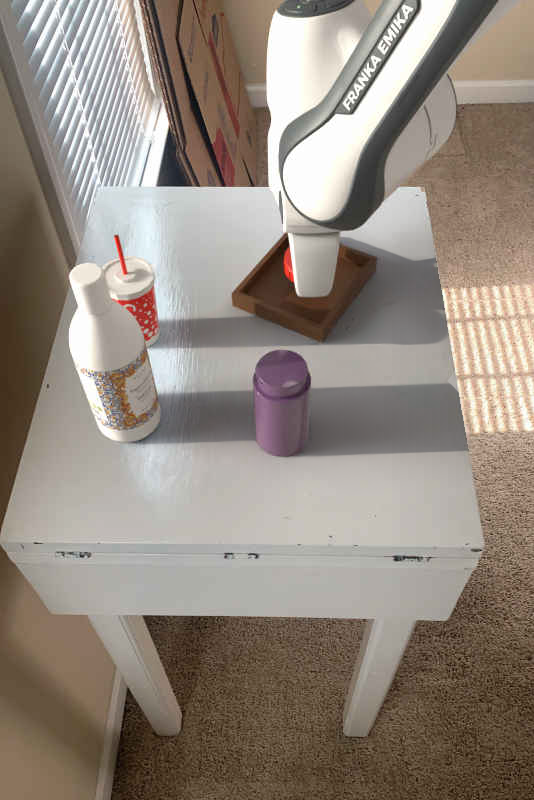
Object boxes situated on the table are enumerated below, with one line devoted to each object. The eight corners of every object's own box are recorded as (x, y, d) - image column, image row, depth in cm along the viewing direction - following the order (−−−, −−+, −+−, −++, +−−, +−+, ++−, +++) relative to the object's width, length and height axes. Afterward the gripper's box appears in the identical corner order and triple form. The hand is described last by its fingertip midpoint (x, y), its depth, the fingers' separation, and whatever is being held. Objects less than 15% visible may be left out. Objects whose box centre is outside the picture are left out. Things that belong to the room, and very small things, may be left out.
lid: (285, 288, 81) (285, 275, 80) (283, 252, 84) (283, 239, 83) (336, 286, 81) (337, 274, 80) (332, 250, 84) (333, 238, 83)
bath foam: (134, 455, 72) (89, 314, 55) (84, 426, 74) (27, 282, 57) (175, 411, 75) (144, 264, 58) (126, 384, 77) (82, 236, 60)
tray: (290, 238, 90) (290, 225, 89) (375, 270, 87) (377, 257, 85) (232, 305, 84) (231, 293, 82) (321, 342, 80) (322, 330, 78)
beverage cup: (103, 339, 81) (73, 241, 69) (138, 309, 84) (114, 209, 72) (142, 361, 79) (118, 264, 67) (176, 329, 82) (159, 231, 70)
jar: (289, 406, 75) (290, 337, 66) (318, 441, 72) (323, 374, 64) (245, 429, 73) (240, 361, 65) (274, 465, 71) (273, 400, 62)
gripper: (276, 113, 77) (277, 219, 89) (284, 231, 66) (284, 333, 78) (332, 111, 77) (326, 217, 89) (349, 228, 66) (339, 331, 78)
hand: (306, 272), depth 83 cm, fingers closed on lid, 6 cm apart
